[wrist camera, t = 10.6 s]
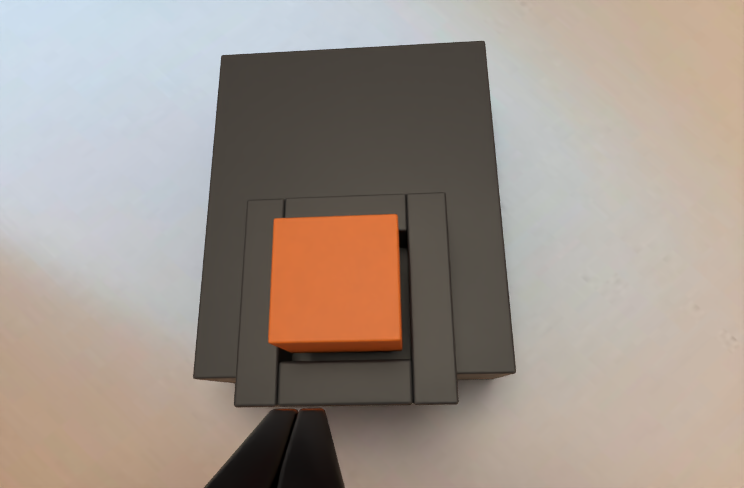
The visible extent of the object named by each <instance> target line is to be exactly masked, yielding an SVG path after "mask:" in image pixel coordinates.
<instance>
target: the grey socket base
mask: <svg viewBox="0 0 744 488" xmlns="http://www.w3.org/2000/svg"><path fill="white" fill-rule="evenodd" d="M382 214H397V215H398V229H399V251H400V284H401V317H402V350H401V351H372V352H322V353H291V352H288V351H286V350H284V349H281V348H279V347H276V346H274V345H272V344H269V343H268V331H269V309H270V288H271V266H272V245H273V223H274V219H275V218H298V217H326V216H354V215H382ZM514 373H516V366H515V355H514V345H513V334H512V324H511V313H510V302H509V292H508V281H507V271H506V260H505V249H504V239H503V228H502V217H501V207H500V196H499V186H498V175H497V164H496V154H495V143H494V133H493V122H492V111H491V101H490V90H489V80H488V69H487V58H486V48H485V42H484V41H471V42H453V43H435V44H417V45H399V46H381V47H363V48H344V49H326V50H308V51H290V52H272V53H254V54H236V55H222V56H221V66H220V77H219V89H218V100H217V111H216V123H215V134H214V146H213V157H212V168H211V180H210V191H209V203H208V214H207V225H206V237H205V248H204V260H203V271H202V283H201V294H200V305H199V317H198V328H197V340H196V351H195V362H194V374H193V378H194V379H200V380H209V381H219V382H229V383H235V395H234V406H235V407H295V406H368V405H411V404H415V405H442V404H458V402H459V400H458V384H457V380H470V379H495V378H499V377H503V376H506V375H510V374H514Z"/></svg>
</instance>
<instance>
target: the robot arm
mask: <svg viewBox="0 0 744 488" xmlns="http://www.w3.org/2000/svg"><path fill="white" fill-rule="evenodd" d="M204 488H345V486H344V483H343V479H342V475H341V471H340V467H339V463H338V459H337V455H336V451H335V447H334V443H333V440H332V436H331V432H330V428H329V424H328V420H327V416H326V413H325V410H324V409H322V408H303V409H301V410H299V412H298V410H296V409H274V410H272V411H270V412H269V413H268V414H267V415H266V417H265V418H264V419H263V420H262V421H261V422H260V424H259V425H258V426H257V427H256V428H255V429H254V430H253V432H252V433H251V434H250V435H249V436H248V437H247V439H246V440H245V441H244V442H243V443H242V444H241V446H240V447H239V448H238V449H237V450H236V451H235V452H234V454H233V455H232V456H231V457H230V458H229V459H228V461H227V462H226V463H225V464H224V465H223V466H222V467H221V469H220V470H219V471H218V472H217V473H216V474H215V476H214V477H213V478H212V479H211V480H210V481H209V482H208V484H207V485H206V486H205V487H204Z"/></svg>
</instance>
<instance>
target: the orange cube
mask: <svg viewBox="0 0 744 488" xmlns="http://www.w3.org/2000/svg"><path fill="white" fill-rule="evenodd" d="M268 343H269V344H272V345H274V346H276V347H279V348H281V349H284V350H286V351H288V352H291V353H322V352H372V351H401V350H402V317H401V284H400V251H399V229H398V215H397V214H382V215H354V216H326V217H298V218H275V219H274V223H273V245H272V266H271V288H270V309H269V331H268Z"/></svg>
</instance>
